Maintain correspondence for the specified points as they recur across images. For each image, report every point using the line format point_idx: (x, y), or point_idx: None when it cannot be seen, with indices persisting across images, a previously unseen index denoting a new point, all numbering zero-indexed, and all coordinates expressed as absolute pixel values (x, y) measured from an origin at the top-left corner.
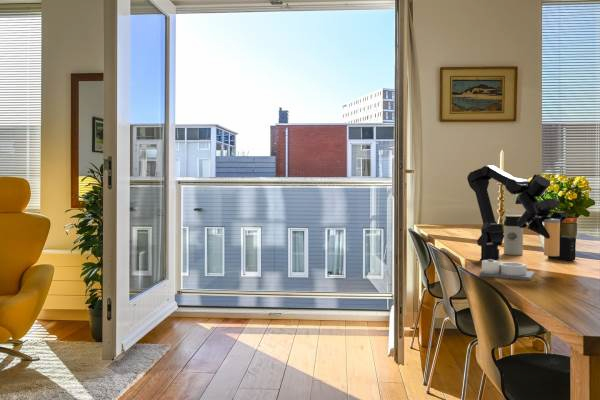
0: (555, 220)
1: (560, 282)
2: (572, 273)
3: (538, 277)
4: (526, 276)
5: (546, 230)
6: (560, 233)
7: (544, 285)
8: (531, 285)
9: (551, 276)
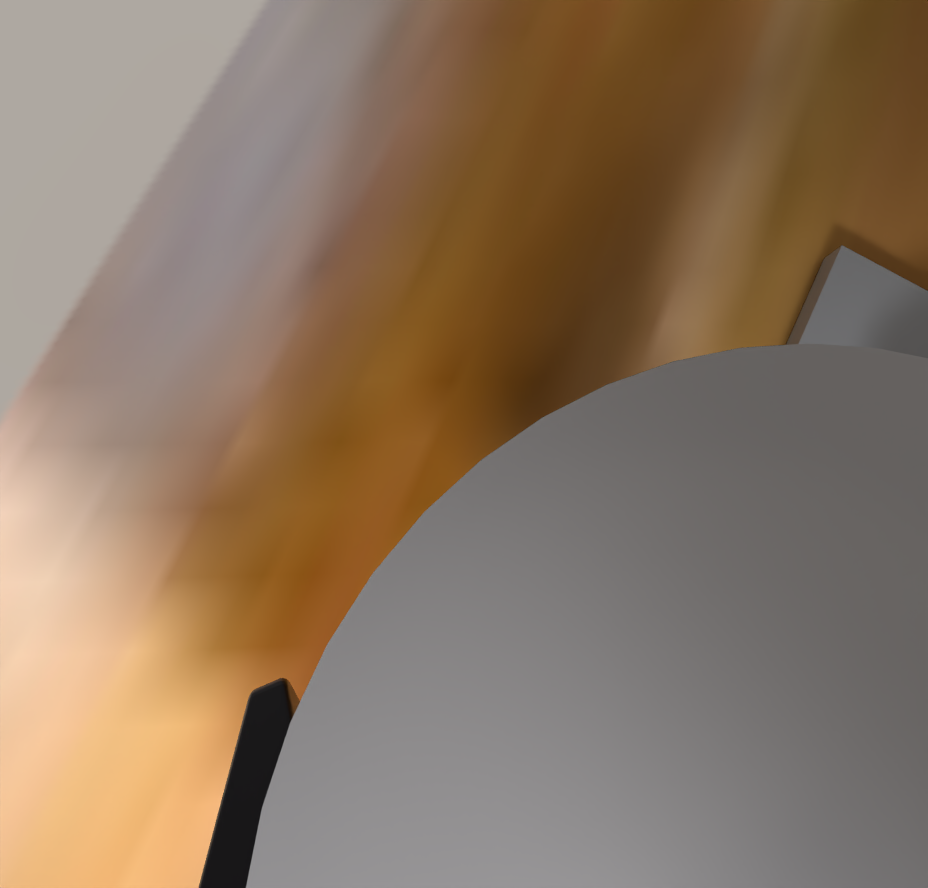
0: (772, 356)
1: (544, 158)
2: (134, 713)
3: None
4: (861, 302)
5: None
6: (263, 751)
7: (754, 31)
8: (872, 36)
9: None
